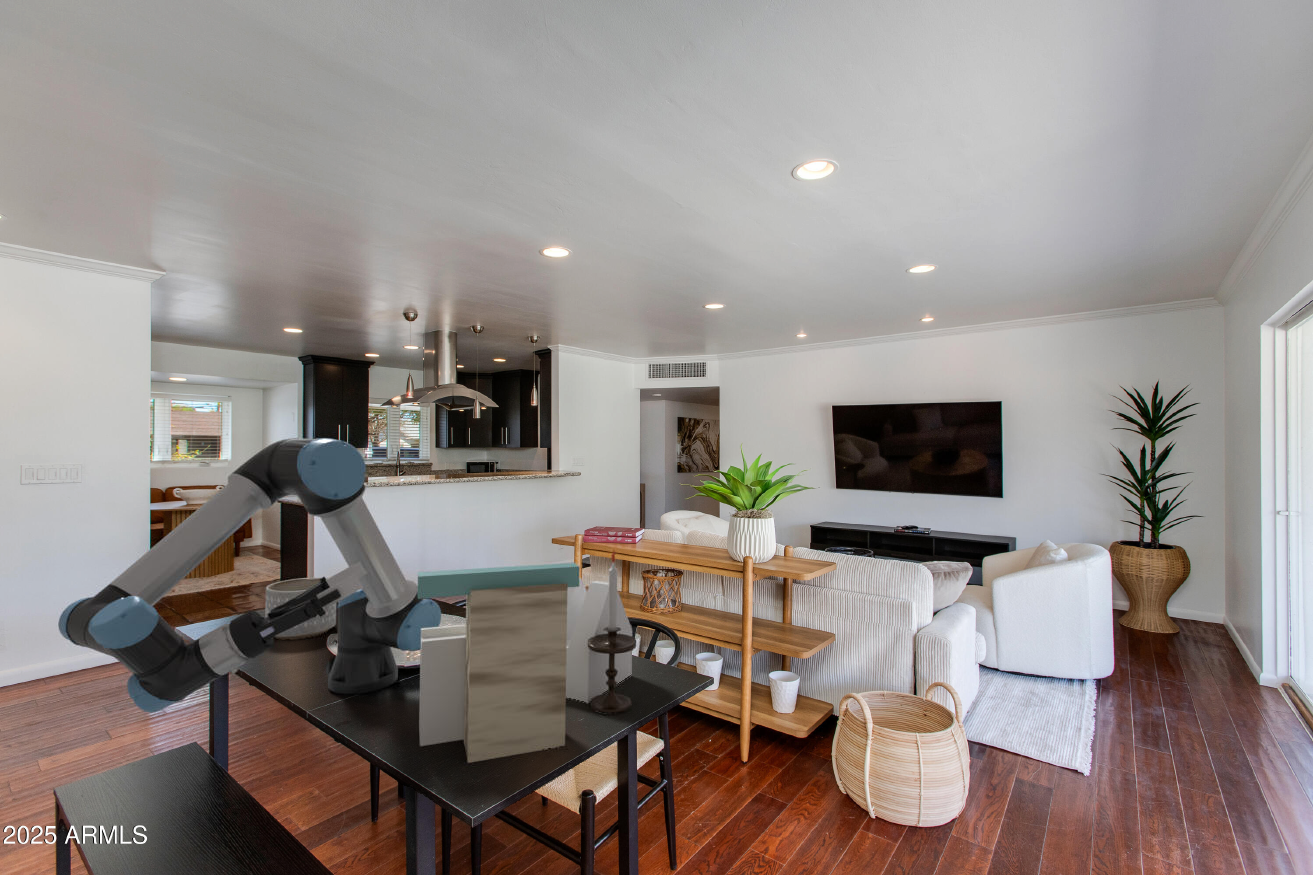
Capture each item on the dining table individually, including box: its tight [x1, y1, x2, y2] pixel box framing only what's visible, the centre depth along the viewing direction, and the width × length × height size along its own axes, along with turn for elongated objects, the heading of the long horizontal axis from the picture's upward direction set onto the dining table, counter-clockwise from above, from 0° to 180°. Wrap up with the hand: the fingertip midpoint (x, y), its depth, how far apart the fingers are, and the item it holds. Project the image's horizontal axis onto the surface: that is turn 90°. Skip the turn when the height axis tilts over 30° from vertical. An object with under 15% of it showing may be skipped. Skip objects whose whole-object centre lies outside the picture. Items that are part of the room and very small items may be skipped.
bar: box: [417, 562, 581, 599], centre depth 119 cm, size 4×30×4 cm, turn 112°
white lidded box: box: [418, 623, 466, 747], centre depth 126 cm, size 9×18×20 cm, turn 112°
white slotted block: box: [566, 578, 633, 704], centre depth 151 cm, size 19×15×25 cm
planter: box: [264, 577, 337, 640], centre depth 187 cm, size 19×19×14 cm
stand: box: [463, 583, 568, 764], centre depth 120 cm, size 9×18×31 cm, turn 112°
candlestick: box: [588, 549, 637, 715], centre depth 138 cm, size 11×11×35 cm
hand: (361, 573), depth 113 cm, fingers open, 13 cm apart
